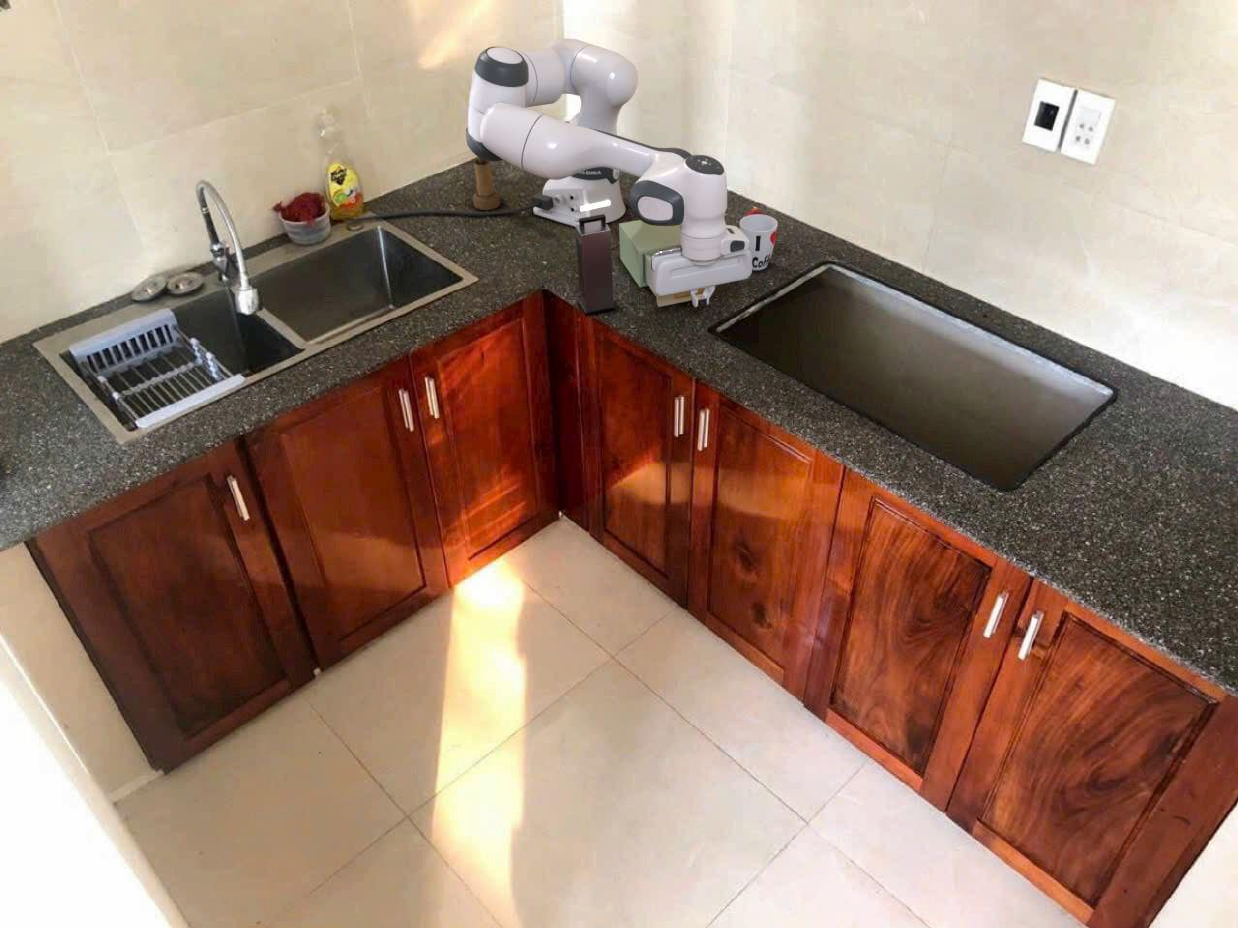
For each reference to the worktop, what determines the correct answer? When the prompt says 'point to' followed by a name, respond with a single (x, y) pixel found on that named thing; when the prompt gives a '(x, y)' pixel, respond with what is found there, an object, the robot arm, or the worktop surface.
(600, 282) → the grater
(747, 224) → the cup
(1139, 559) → the worktop surface
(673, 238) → the cabinet
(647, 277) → the drawer
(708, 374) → the worktop surface
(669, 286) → the robot arm
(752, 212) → the onion
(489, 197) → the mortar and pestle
